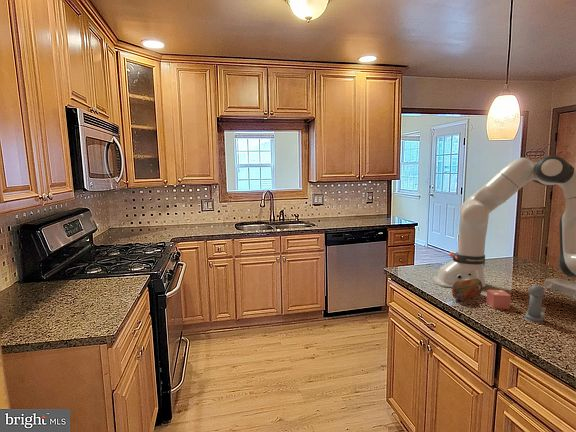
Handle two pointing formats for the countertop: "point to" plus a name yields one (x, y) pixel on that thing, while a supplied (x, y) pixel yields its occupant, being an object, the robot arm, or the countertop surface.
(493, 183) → the robot arm
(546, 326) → the countertop surface
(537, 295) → the pawn
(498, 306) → the die
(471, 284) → the tin
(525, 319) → the board
